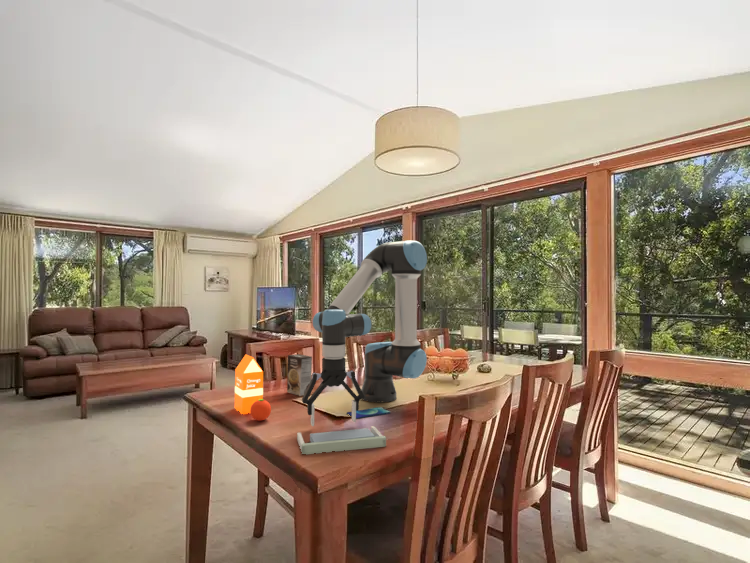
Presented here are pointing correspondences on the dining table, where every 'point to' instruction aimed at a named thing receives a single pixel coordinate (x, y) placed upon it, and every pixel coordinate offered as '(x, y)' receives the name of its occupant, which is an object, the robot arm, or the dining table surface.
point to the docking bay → (342, 443)
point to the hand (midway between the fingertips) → (333, 422)
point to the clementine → (260, 410)
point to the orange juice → (248, 384)
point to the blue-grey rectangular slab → (341, 435)
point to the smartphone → (370, 412)
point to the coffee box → (299, 374)
